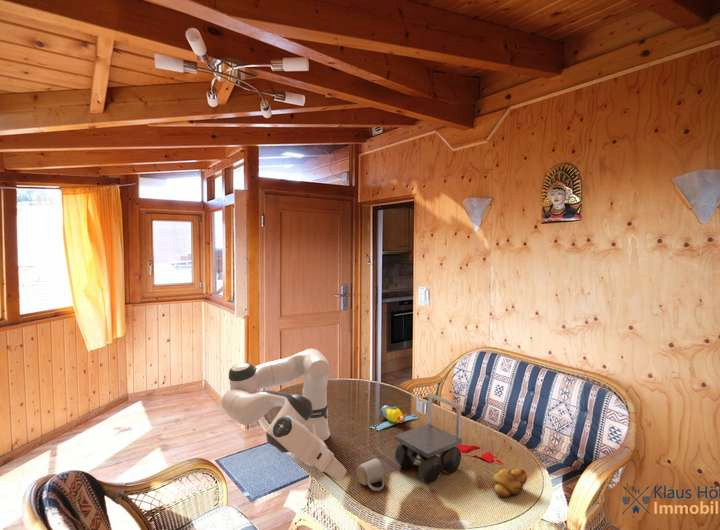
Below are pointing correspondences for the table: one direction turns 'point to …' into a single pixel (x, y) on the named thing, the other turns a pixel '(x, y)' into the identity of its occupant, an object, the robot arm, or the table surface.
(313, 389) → the robot arm
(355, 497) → the table surface
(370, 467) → the ceramic mug
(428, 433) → the trolley
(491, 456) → the cloth
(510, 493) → the bread roll
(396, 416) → the owl figurine
